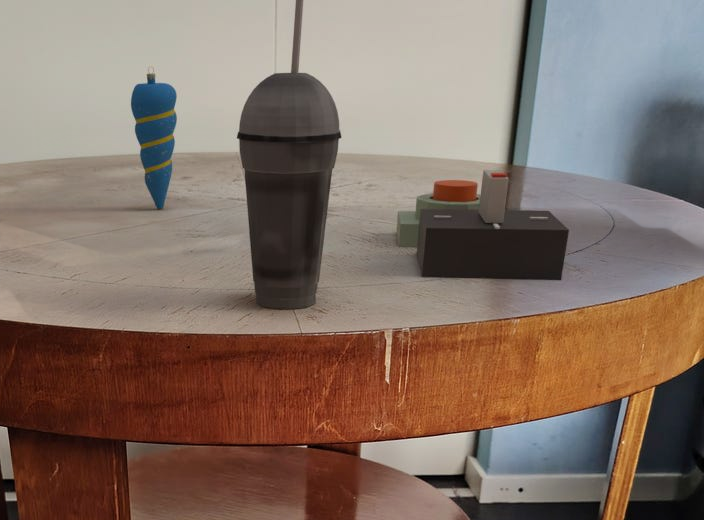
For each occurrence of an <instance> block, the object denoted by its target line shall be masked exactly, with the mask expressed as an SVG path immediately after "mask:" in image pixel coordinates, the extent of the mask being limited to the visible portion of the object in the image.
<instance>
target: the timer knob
mask: <svg viewBox="0 0 704 520" xmlns="http://www.w3.org/2000/svg"><path fill="white" fill-rule="evenodd" d="M482 171H483V172H482V179H481V188H480V195H481V196H480V204H479V214H480V215H481V217H482V219H483V220H484V222H485V223H503V219H504V211H505V210H506V201H507V195H508V187H509V180H510V179H509V177H508V174H507V173H505V172H503V171H502V170H501V169H483V170H482Z"/></svg>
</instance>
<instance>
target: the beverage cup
mask: <svg viewBox="0 0 704 520" xmlns="http://www.w3.org/2000/svg"><path fill="white" fill-rule="evenodd" d="M294 7H295V8H294V22H293V37H292V52H291V66H290V72H274V73H273V74H270V75H269V76H267V77H266V78H264V79H263V80H261V81H260V82H259V83H258V84H257V85H256V86H255V87H254V88H253V89H252V90H251V92H250V93H249V95H248V97H247V98H246V101H245V103H244V105H243V107H242V110H241V114H240V119H239V125H238V126H239V128H238V132H237V135H236V139H238V145H239V156H240V161H241V166H242V169H244V180H245V181H244V182H245V193H246V207H247V218H248V219H247V220H248V231H249V245H250V257H251V259H250V260H251V271H252V282H253V286H254V292H255V303H256V304H257V305H259V306H261V307H265V308H269V309H277V310H294V309H295V310H296V309H302V308H308V307H311V306H313V305H314V304H316V298H317V292H318V285H319V282H320V278H321V277H320V276H321V267H322V259H323V250H324V241H325V232H326V225H327V218H328V208H329V202H330V201H329V200H330V191H331V184H332V176H333V170H334V168H335V165H336V161H337V156H338V152H339V140H340V139H342V132H341V130H340V118H339V112H338V109H337V105H336V102H335V101H334V98H333V95H332V94H331V93H330V90H328V88H327V87H326V86H325V85H324V84H323V83H322V82H321V80H319V79H318V78H316V77H315V76H313V75H311V74H309V73H307V72H299V68H300V54H301V41H302V28H303V27H302V25H303V12H304V0H295V6H294Z"/></svg>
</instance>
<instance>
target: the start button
mask: <svg viewBox="0 0 704 520" xmlns="http://www.w3.org/2000/svg"><path fill="white" fill-rule="evenodd" d="M478 185H479V184H478V183H477V182H476V181H472V180H463V179H445V180H437V181H434V182H433V189H432V193H433V200H437V201H446V202H470V201H476V195H477V194H478V187H479V186H478Z"/></svg>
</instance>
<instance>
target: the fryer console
mask: <svg viewBox="0 0 704 520" xmlns="http://www.w3.org/2000/svg"><path fill="white" fill-rule="evenodd" d="M569 234H570V229H569V228H568V227H566V225H565V224H563V223H562V222H561V221H560V220H559V219H558V218H557V217H556V216H555V215H554V214H553V213H552V212H551V211H549V210H531V209H529V210H528V209H527V210H525V209H524V210H523V209H505V211H504V219H503V223H485V222H484V220H483V219H482V217H481V215H480V214H479V210H455V209H420V219H419V231H418V242H417V247H416V258H417V263H418V267H419V271H420V276H421V278H436V279H437V278H441V279H443V278H444V279H482V280H483V279H485V280H487V279H488V280H491V279H492V280H527V281H528V280H529V281H531V280H532V281H533V280H534V281H539V280H540V281H562V276H563V272H564V271H563V270H564V264H565V259H566V253H567V246H568V239H569Z"/></svg>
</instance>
